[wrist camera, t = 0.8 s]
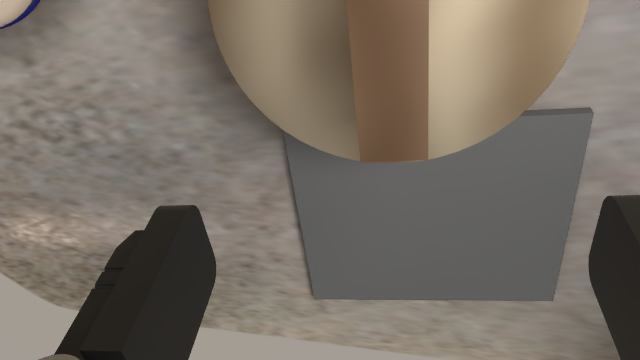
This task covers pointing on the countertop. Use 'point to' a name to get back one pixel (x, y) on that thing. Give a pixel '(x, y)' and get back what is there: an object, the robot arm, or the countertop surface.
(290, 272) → the countertop surface
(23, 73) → the countertop surface
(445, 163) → the mat
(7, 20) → the teacup with lid
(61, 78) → the countertop surface
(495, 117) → the lid
